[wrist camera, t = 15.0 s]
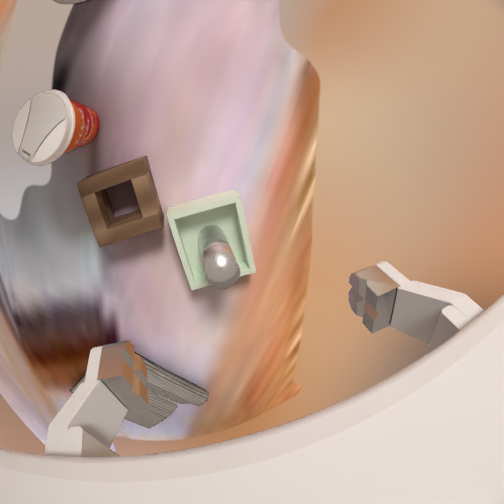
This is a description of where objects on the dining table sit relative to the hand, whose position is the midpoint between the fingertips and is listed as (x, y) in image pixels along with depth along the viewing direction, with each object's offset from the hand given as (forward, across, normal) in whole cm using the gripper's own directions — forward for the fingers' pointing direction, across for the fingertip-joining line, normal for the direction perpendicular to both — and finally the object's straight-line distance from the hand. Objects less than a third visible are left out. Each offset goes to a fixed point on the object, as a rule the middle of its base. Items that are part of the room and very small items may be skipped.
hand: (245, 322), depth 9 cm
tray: (+32, 0, +11) cm, 34 cm away
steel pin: (+31, 0, +11) cm, 33 cm away
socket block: (+32, +10, +2) cm, 34 cm away
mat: (+31, +26, +41) cm, 57 cm away
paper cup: (+33, +14, -10) cm, 37 cm away
